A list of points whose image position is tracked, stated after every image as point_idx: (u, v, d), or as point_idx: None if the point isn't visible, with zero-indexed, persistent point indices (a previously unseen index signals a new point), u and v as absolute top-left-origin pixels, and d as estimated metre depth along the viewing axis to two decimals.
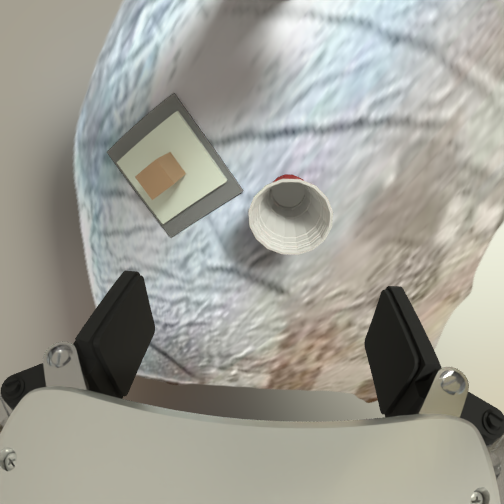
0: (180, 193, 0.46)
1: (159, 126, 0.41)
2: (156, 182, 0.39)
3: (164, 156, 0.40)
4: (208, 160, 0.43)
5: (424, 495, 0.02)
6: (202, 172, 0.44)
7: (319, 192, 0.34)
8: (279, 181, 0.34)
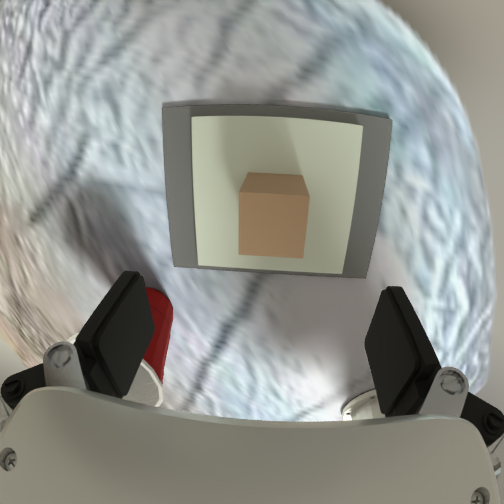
0: (222, 189, 0.24)
1: (345, 239, 0.25)
2: (264, 227, 0.19)
3: None
4: (243, 264, 0.28)
5: (424, 495, 0.02)
6: (231, 245, 0.27)
7: None
8: (161, 398, 0.23)
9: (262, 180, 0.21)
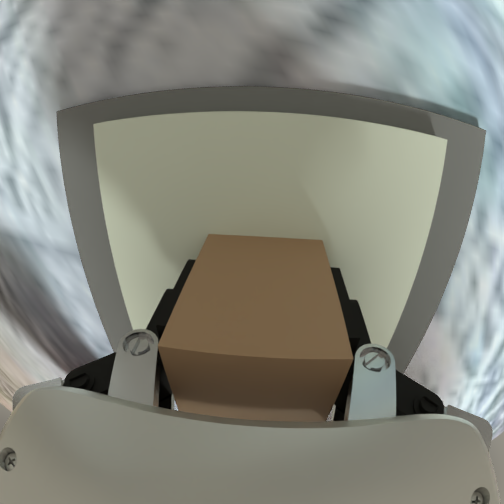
0: (163, 264, 0.12)
1: (386, 339, 0.14)
2: (233, 406, 0.07)
3: None
4: None
5: (424, 495, 0.02)
6: None
7: None
8: None
9: (232, 271, 0.09)
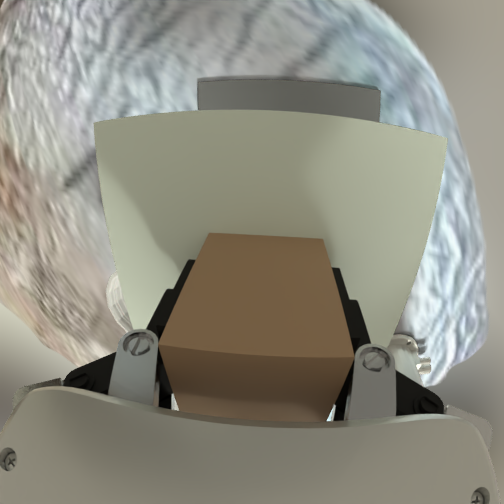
0: (163, 263, 0.12)
1: (387, 338, 0.14)
2: (234, 405, 0.07)
3: None
4: None
5: (424, 495, 0.02)
6: None
7: None
8: None
9: (233, 270, 0.09)
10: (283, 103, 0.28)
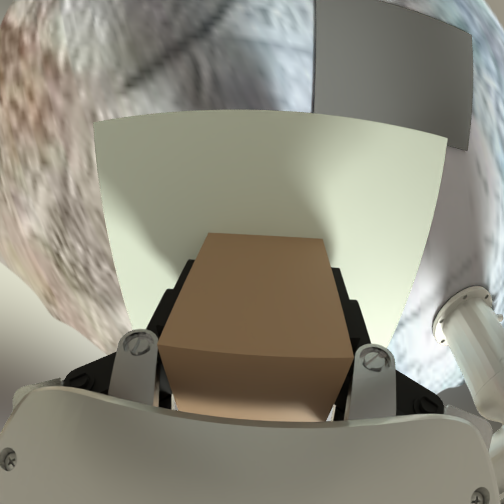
0: (163, 263, 0.12)
1: (387, 338, 0.14)
2: (233, 405, 0.07)
3: None
4: None
5: (424, 495, 0.02)
6: None
7: None
8: None
9: (232, 270, 0.09)
10: (398, 24, 0.20)
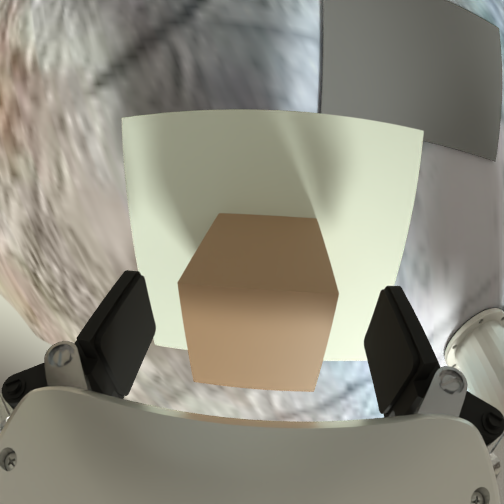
0: (178, 242, 0.14)
1: None
2: (238, 348, 0.09)
3: None
4: None
5: (424, 495, 0.02)
6: None
7: None
8: None
9: (239, 237, 0.11)
10: (420, 10, 0.15)
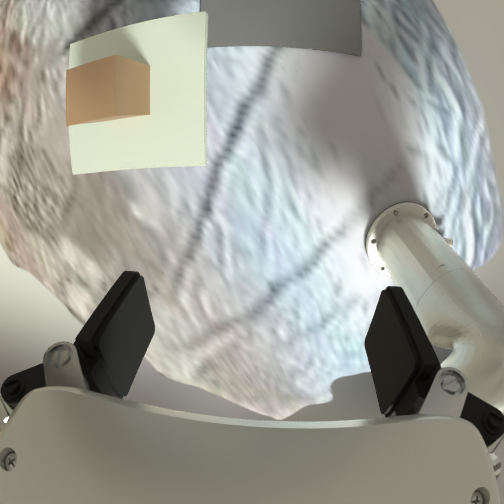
0: None
1: (201, 122, 0.22)
2: (83, 93, 0.15)
3: (131, 115, 0.19)
4: (106, 166, 0.24)
5: (424, 495, 0.02)
6: (96, 147, 0.23)
7: None
8: None
9: None
10: None
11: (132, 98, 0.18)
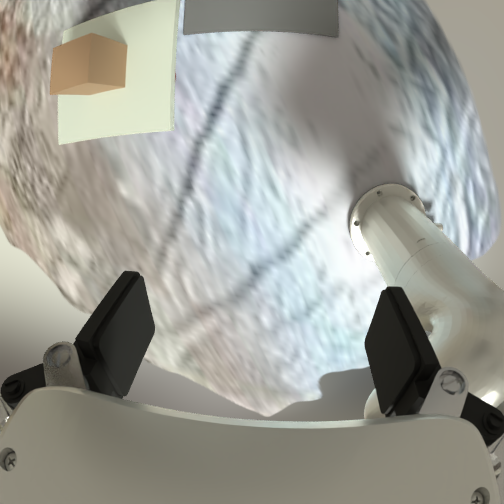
0: None
1: (168, 91, 0.22)
2: (64, 66, 0.16)
3: (105, 85, 0.19)
4: (87, 135, 0.24)
5: (424, 495, 0.02)
6: (79, 119, 0.23)
7: None
8: None
9: None
10: None
11: (107, 70, 0.18)
